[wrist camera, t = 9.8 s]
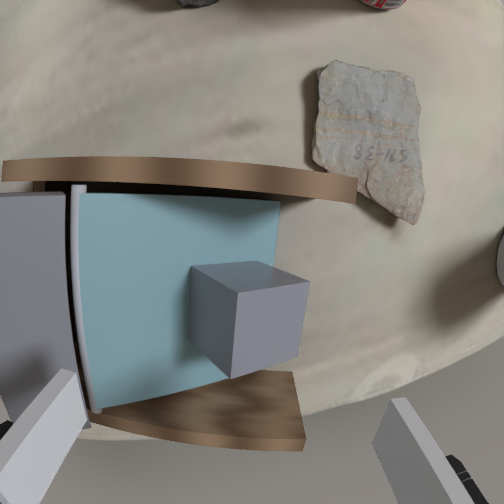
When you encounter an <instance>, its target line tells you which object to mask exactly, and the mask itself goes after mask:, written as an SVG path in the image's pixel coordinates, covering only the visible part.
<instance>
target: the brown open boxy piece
mask: <svg viewBox="0 0 504 504" xmlns="http://www.w3.org/2000/svg"><path fill="white" fill-rule="evenodd" d="M2 181H34V183H33V192H58V191H62V192H63V193H64V194H65V195H66V198H65V261H66V280H67V293H68V304H69V314H70V322H71V330H72V337H73V344H74V350H75V356H76V362H77V367H78V373H79V378H80V383H81V387H82V392H83V396H84V401H85V405H86V409H87V413H88V417H89V421H90V422H93V423H96V424H100V425H103V426H107V427H111V428H114V429H118V430H122V431H126V432H131V433H135V434H139V435H144V436H149V437H154V438H159V439H164V440H170V441H176V442H182V443H189V444H196V445H203V446H212V447H221V448H231V449H245V450H262V451H303V448H304V444H305V441H306V437H305V431H304V426H303V422H302V417H301V412H300V407H299V402H298V397H297V393H296V388H295V383H294V378H293V373H292V372H281V371H265V370H258V371H255V372H252V373H249V374H246V375H243V376H240V377H236V378H233V379H230V378H228V379H224V380H221V381H217V382H214V383H210V384H207V385H203V386H199V387H196V388H192V389H188V390H184V391H180V392H176V393H172V394H168V395H164V396H160V397H155V398H151V399H146V400H142V401H137V402H132V403H127V404H122V405H117V406H112V407H106V408H103V411H102V412H101V413H99V414H95V413H93V412H92V411H91V408H90V403H89V399H88V394H87V390H86V385H85V380H84V375H83V369H82V364H81V358H80V352H79V345H78V342H75V341H74V334H73V326H72V318H71V309H70V299H69V286H68V271H67V240H66V220H67V190H68V181H103V182H131V183H152V184H170V185H185V186H199V187H212V188H224V189H235V190H246V191H256V192H265V193H275V194H284V195H292V196H301V197H309V198H317V199H324V200H332V201H339V202H346V203H353V204H356V196H357V187H358V178H356V177H350V176H344V175H337V174H331V173H324V172H317V171H310V170H302V169H294V168H286V167H278V166H269V165H260V164H250V163H239V162H227V161H214V160H200V159H183V158H160V157H57V158H37V159H21V160H8V161H3V166H2ZM2 181H1V182H2Z"/></svg>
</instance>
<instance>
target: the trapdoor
mask: <svg viewBox="0 0 504 504" xmlns="http://www.w3.org/2000/svg"><path fill="white" fill-rule="evenodd" d="M86 188H87V185H72V187H71V210H70V253H71V277H72V292H73V303H74V313H75V322H76V331H77V338H78V345H79V352H80V358H81V364H82V369H83V375H84V380H85V385H86V390H87V394H88V399H89V403H90V408H91V411H92V412H93V413H95V414H99V413H101V412H102V411H103V408H106V407H112V406H117V405H122V404H127V403H132V402H137V401H142V400H146V399H151V398H155V397H160V396H164V395H168V394H172V393H176V392H180V391H184V390H188V389H192V388H196V387H199V386H203V385H207V384H210V383H214V382H217V381H221V380H224V379H228V378H229V377H227V376H226V375H225V374H224V373H223V372H222V371H221V370H220V369H219V368H218V367H217V366H215V365H214V364H213V363H212V362H211V361H210V360H209V359H208V358H207V357H206V356H205V355H204V354H203V353H202V352H201V351H200V350H199V349H197V348H196V347H195V346H194V345H193V344H192V343H191V342H190V341H189V340H188V329H189V296H190V272H191V266H193V265H206V264H219V263H231V262H244V261H256V260H257V261H259V262H262V263H264V264H267V265H269V266H272V267H273V265H274V256H275V248H276V239H277V230H278V222H279V213H280V203H281V202H279V201H273V200H260V199H246V198H230V197H214V196H194V195H171V194H141V193H86ZM65 198H66V195H65V194H64V193H63V192H62V191H58V192H14V193H0V394H1V396H2V399H3V402H4V404H5V407H6V409H7V412H8V414H9V417H10V419H11V421H12V422H13V423H15V422H16V421H17V419H18V418H19V417H20V416H21V414H22V413H23V412H24V411H25V410H26V409H27V407H28V406H29V405H30V404H31V403H32V401H33V400H34V399H35V398H36V397H37V396H38V394H39V393H40V392H41V391H42V390H43V389H44V388H45V386H46V385H47V384H48V383H49V382H50V381H51V380H52V378H53V377H54V376H55V375H56V374H57V373H58V372H59V371H60V369H61V368H62V369H65V370H69V371H72V372H76V374H77V379H78V384H79V389H80V393H81V397H82V401H83V405H84V409H85V413H86V417H87V421H86V423H85V424H84V426H83V428H82V429H86V428H91V424H90V421H89V417H88V413H87V409H86V405H85V401H84V396H83V392H82V387H81V383H80V378H79V373H78V367H77V362H76V356H75V350H74V344H73V337H72V330H71V322H70V314H69V304H68V293H67V280H66V261H65Z"/></svg>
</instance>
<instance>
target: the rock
mask: <svg viewBox="0 0 504 504" xmlns="http://www.w3.org/2000/svg"><path fill="white" fill-rule="evenodd" d="M177 1H178V3H179V5H181V6H182V7H186V6H194V7H199V6H204V5H211V4H212V3H213V2H215V1H217V0H177Z"/></svg>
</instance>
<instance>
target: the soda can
mask: <svg viewBox="0 0 504 504" xmlns="http://www.w3.org/2000/svg"><path fill="white" fill-rule="evenodd" d="M360 1H362V2H363V3H365V4H367V5H369V6H372V7H375V8H380V9H396V8H398V7H400V6H401V5H402V4H403V3H404V2H405V1H406V0H360Z"/></svg>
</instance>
